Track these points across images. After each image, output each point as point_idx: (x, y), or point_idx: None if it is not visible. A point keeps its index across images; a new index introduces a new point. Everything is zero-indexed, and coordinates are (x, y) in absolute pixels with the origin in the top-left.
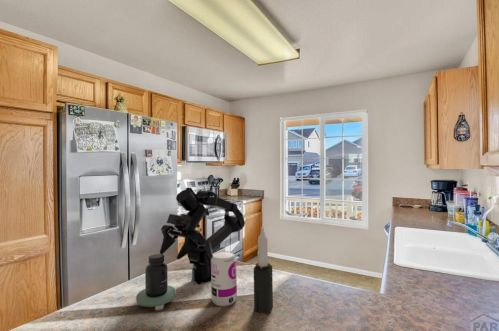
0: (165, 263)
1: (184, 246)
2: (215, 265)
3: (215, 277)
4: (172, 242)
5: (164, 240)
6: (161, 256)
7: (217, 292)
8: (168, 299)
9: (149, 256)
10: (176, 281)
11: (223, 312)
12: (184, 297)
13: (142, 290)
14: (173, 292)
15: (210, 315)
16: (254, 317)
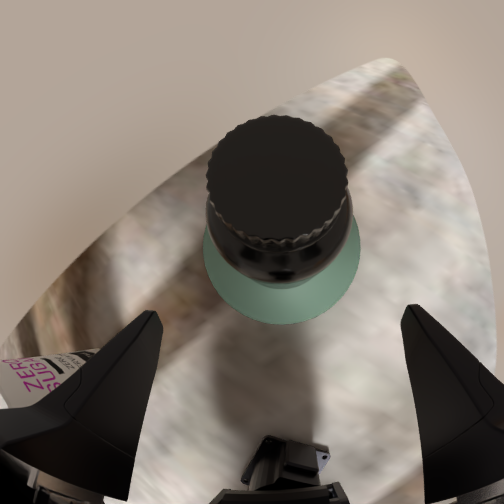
0: (246, 259)
1: (66, 383)
2: (6, 361)
3: (43, 358)
4: (430, 470)
5: (485, 393)
6: (225, 192)
7: (73, 352)
8: (204, 249)
9: (319, 130)
10: (368, 403)
11: (77, 331)
12: (226, 339)
13: (353, 221)
14: (226, 291)
15: (90, 301)
16: (33, 345)
